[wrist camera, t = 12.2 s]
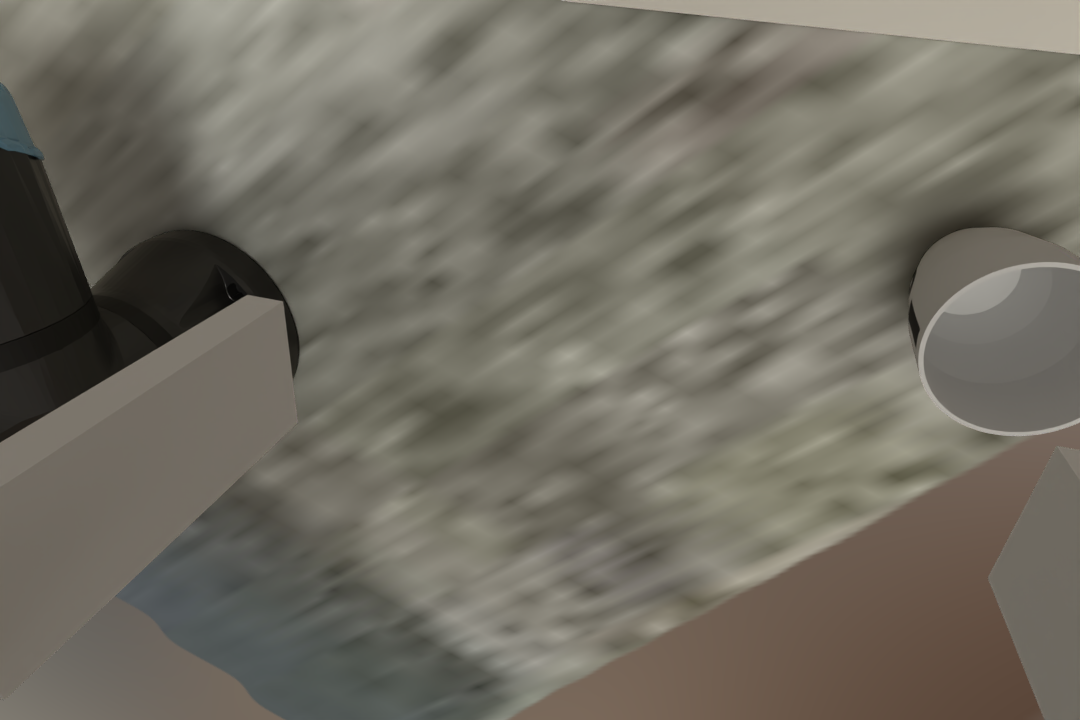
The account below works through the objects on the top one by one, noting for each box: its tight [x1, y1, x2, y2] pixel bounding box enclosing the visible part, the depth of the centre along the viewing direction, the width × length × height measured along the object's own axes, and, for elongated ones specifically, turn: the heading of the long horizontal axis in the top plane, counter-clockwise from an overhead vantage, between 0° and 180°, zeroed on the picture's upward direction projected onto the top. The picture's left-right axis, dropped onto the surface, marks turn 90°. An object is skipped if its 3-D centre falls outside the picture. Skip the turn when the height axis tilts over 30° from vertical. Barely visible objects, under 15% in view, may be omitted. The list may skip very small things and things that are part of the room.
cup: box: [908, 227, 1080, 436], centre depth 33 cm, size 8×8×10 cm
